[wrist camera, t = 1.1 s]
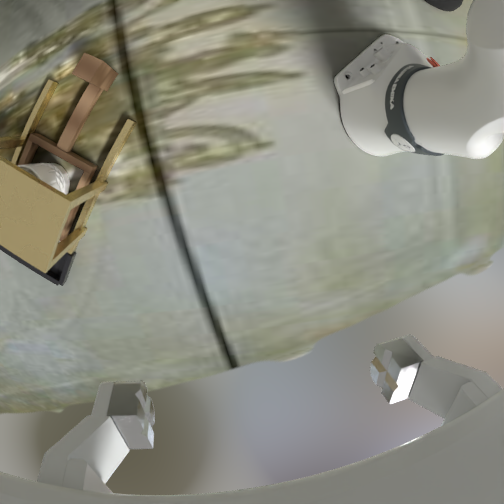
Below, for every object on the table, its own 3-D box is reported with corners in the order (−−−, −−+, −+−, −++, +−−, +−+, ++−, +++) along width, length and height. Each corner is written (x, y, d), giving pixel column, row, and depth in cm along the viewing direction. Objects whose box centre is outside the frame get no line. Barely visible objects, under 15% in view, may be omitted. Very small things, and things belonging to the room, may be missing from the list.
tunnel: (51, 80, 33) (1, 62, 20) (139, 124, 39) (113, 115, 25) (-8, 237, 39) (-57, 269, 25) (66, 283, 44) (30, 332, 31)
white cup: (23, 184, 38) (-11, 196, 29) (53, 148, 37) (20, 151, 28) (52, 220, 41) (22, 239, 31) (83, 185, 40) (56, 197, 31)
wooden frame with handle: (79, 56, 33) (59, 42, 25) (143, 86, 37) (132, 74, 29) (12, 202, 38) (-15, 214, 30) (67, 236, 42) (46, 254, 34)
